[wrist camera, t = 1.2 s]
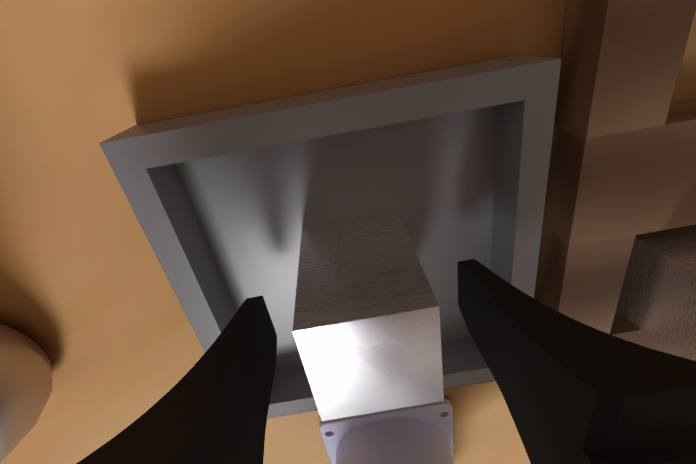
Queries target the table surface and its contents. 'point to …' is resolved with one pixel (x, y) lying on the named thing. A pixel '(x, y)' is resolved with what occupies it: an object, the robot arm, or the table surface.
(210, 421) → the robot arm
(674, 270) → the block
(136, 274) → the table surface
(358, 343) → the block
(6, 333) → the plastic bottle
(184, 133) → the tray
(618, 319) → the wooden board with recesses
